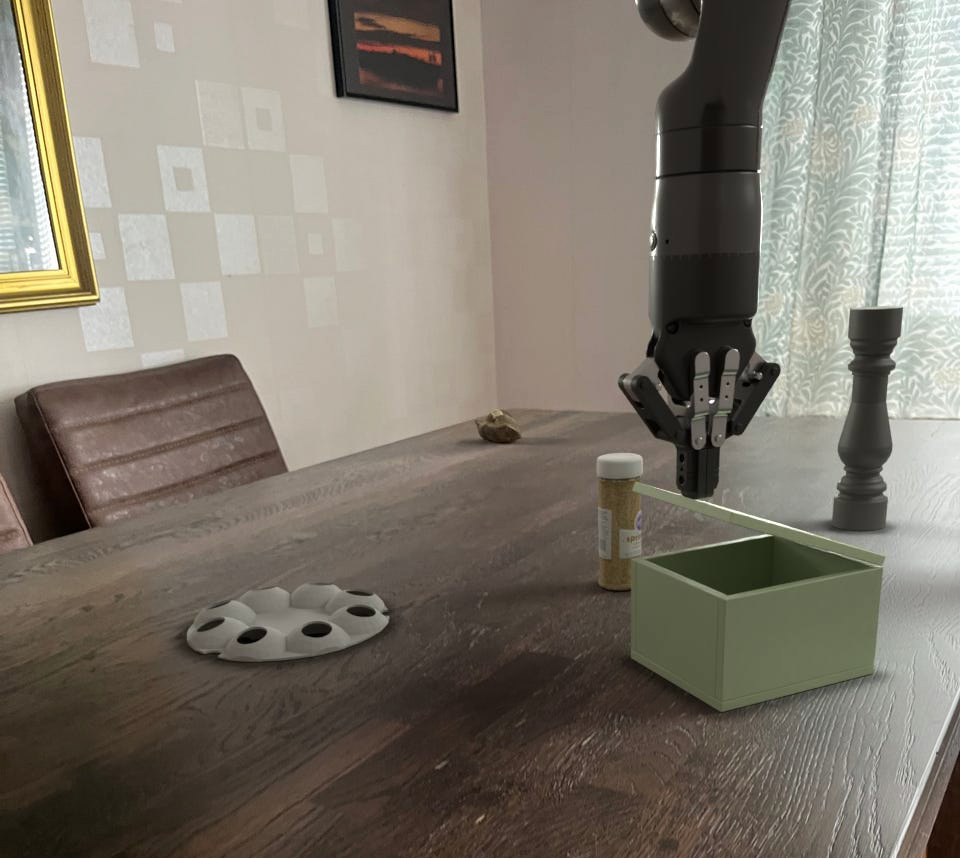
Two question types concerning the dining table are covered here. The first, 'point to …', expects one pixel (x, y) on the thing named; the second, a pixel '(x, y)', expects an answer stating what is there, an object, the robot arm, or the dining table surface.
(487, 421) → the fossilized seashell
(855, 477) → the candle holder
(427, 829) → the dining table surface
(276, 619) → the round palette
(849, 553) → the lid
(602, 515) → the sprinkles bottle
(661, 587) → the chest
